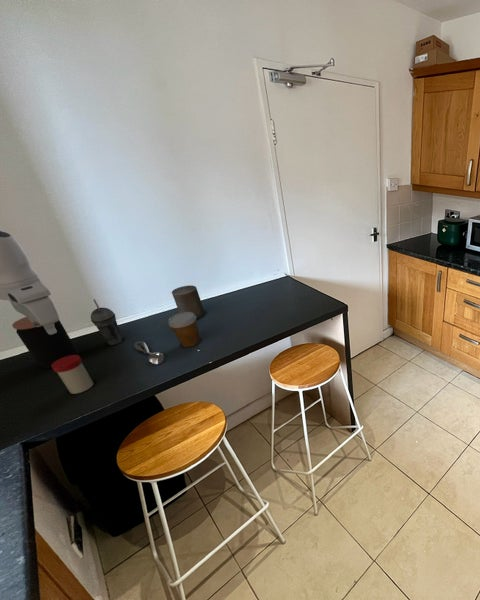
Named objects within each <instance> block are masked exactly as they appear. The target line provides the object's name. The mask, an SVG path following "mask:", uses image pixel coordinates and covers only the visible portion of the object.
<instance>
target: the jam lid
mask: <svg viewBox="0 0 480 600" xmlns="http://www.w3.org/2000/svg"><path fill="white" fill-rule="evenodd" d="M81 363H82V364H83V359H82V358H81V356H80V355H79V354H77V355H70V356H66V357H63V358H61V359H58V360H57V361H55V362H54V363H53V364H52V365H51V367H52V368H51V369H52V371H53V372H55V373H57V372H65V371H69V370H71V369H74V368H76V367H77V366H79V365H80V364H81Z"/></svg>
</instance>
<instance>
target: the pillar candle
mask: <svg viewBox="0 0 480 600" xmlns="http://www.w3.org/2000/svg"><path fill="white" fill-rule="evenodd" d="M171 294H172V298H173V300H174V303H175V305H176V308H177V310H178V314H179V313H184V312H191V313H194V315H196V317H197V318H196V320H198V319H200V318H202V317H204V316H205V314H206V312H205V310H204V306H203V302H202V300H201V297H200V293H199V291H198V288H197V287H196V286H195V285H192V284H191V285H183V286H182V285H181V286H179V287H177V288H174V289H173V290H172V291H171Z"/></svg>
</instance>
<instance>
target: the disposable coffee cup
mask: <svg viewBox="0 0 480 600" xmlns="http://www.w3.org/2000/svg"><path fill="white" fill-rule="evenodd" d="M196 318H197V317H196V315H194V313H191V312H184V313H179V312H178V313H176V314H174V315H172V316H171V317H169V318H168V323H167V325H168V326H169V327H170V328H171V330H172V331H173V333H174V335H175V337H176V338H177V340H178V341H179V343H180V345H181V346H182V347H183V348H190V347H194V346H196V345H197V344H199V343H200V341H201V340H200V335H199V328H198V324H197V323H198V322H197V319H196Z"/></svg>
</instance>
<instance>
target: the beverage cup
mask: <svg viewBox="0 0 480 600" xmlns="http://www.w3.org/2000/svg"><path fill="white" fill-rule="evenodd" d="M93 303H94V304H95V306H96V308H95V309H94V310H93V311H92V312H91V314H90V321H91V323H92V324H93V325H94V326H95V327H96V328H97V330H98V331H99V333H100V334H101V336H102V337H103V339H104V340H105V342H106V343H107V344H108V345H109V346H115V345H118V344H120V343H121V342H122V341H123V337H122V333H121V331H120V328H119V325H118V322H117V316H116V314H115V313H114V311H113V310H112V309H110V308H107V307H100V306H99V304H98V302H97V301H96V299H93Z"/></svg>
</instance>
